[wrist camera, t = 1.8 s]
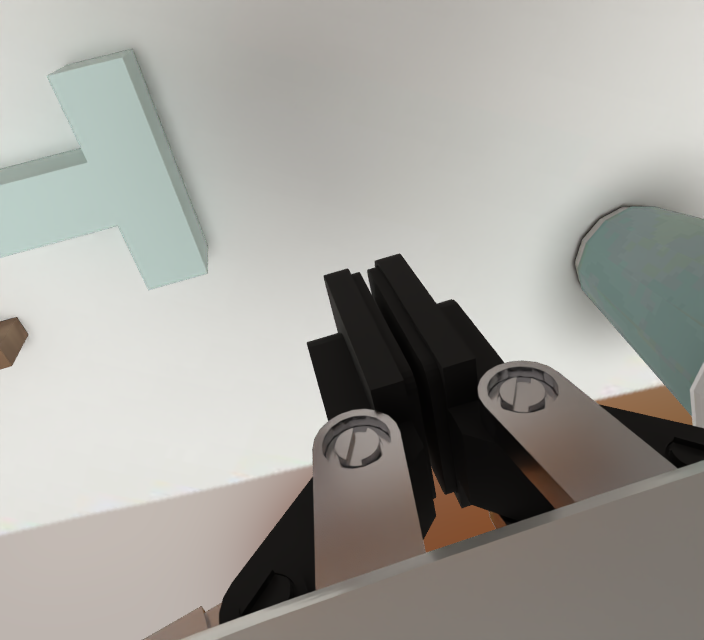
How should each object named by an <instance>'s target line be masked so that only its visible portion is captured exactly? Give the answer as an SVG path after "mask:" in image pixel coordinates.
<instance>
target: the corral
mask: <svg viewBox="0 0 704 640" xmlns="http://www.w3.org/2000/svg"><path fill="white" fill-rule="evenodd" d="M27 336H28V334H27V332H26V331H25V329H24V328H23V326H22V325H21V323H20V321H19V320H18V318H17V317H16V318H12V319H9V320H5V321H1V322H0V369H3V368H7V367H10V366H12V365H13V363H14V361H15V359H16V357H17V355H18V354H19V352H20V350H21V348H22V346H23V344H24V342H25V340H26V338H27Z"/></svg>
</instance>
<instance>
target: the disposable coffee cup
mask: <svg viewBox="0 0 704 640" xmlns="http://www.w3.org/2000/svg"><path fill="white" fill-rule="evenodd" d="M575 265H576V270H577V274H578V279H579V282H580V283H581V288H582V290H583V291H584V292H585V294H586V295H587V296H588V297H589V298H590V299H591V300H592V302H593V303H594V304H595V305H596V306H597V307H598V309H599V310H600V311H601V312H602V313H603V314H604V315H605V317H606V318H607V319H608V320H609V321H610V322H611V324H612V325H613V326H614V327H615V328H616V329H617V330H618V332H619V333H620V334H621V335H622V336H623V337H624V339H625V340H626V341H627V342H628V343H629V344H630V345H631V347H632V348H633V349H634V350H635V351H636V352H637V354H638V355H639V356H640V357H641V358H642V359H643V360H644V362H645V363H646V364H647V365H648V366H649V367H650V369H651V370H652V371H653V372H654V373H655V374H656V375H657V377H658V378H659V379H660V380H661V381H662V382H663V384H664V385H665V386H666V387H667V388H668V389H669V390H670V392H671V393H672V394H673V395H674V396H675V397H676V399H677V400H678V401H679V402H680V403H681V404H682V405H683V407H684V408H685V409H686V410H687V411H688V412H689V414H690V415H691V416H692V421H693V426H697V427H701V428H704V219H701V218H697V217H693V216H689V215H685V214H681V213H677V212H673V211H669V210H665V209H661V208H657V207H633V206H631V207H622V208H620V209H618V210H616V211H614V212H612V213H610V214H608V215H607V216H605V217H603V218H601V219H599V221H598V222H597V223H596V224H595V225H594V226H593V228H592V229H591V230H590V231H589V232H588V233H587V235H586V236H585V237H584V238H583V239H582V242H581V245H580V248H579V251H578V254H577V257H576V260H575Z"/></svg>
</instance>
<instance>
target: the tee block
mask: <svg viewBox="0 0 704 640" xmlns="http://www.w3.org/2000/svg"><path fill="white" fill-rule="evenodd" d="M47 78H48V80H49V82H50V84H51V86H52V88H53V90H54V92H55V95H56V97H57V99H58V101H59V103H60V105H61V107H62V109H63V111H64V114H65V116H66V118H67V120H68V122H69V124H70V126H71V128H72V130H73V133H74V135H75V137H76V139H77V141H78V143H79V145H80V147H81V148H80V149H76V150H72V151H68V152H64V153H60V154H56V155H52V156H49V157H45V158H41V159H37V160H33V161H29V162H25V163H21V164H18V165H14V166H10V167H6V168H2V169H0V258H2V257H5V256H9V255H13V254H16V253H20V252H24V251H28V250H31V249H35V248H39V247H42V246H46V245H50V244H53V243H57V242H61V241H64V240H68V239H72V238H75V237H79V236H83V235H87V234H90V233H94V232H98V231H101V230H105V229H109V228H112V227H116V226H118V227H119V229H120V232H121V234H122V236H123V238H124V240H125V242H126V244H127V246H128V248H129V251H130V253H131V255H132V257H133V259H134V261H135V263H136V265H137V267H138V269H139V272H140V274H141V276H142V278H143V280H144V282H145V284H146V286H147V288H148V290H151V289H155V288H158V287H162V286H165V285H169V284H172V283H176V282H180V281H183V280H187V279H190V278H194V277H197V276H201V275H204V274H208V245H207V243H206V240H205V237H204V235H203V232H202V229H201V227H200V224H199V222H198V219H197V216H196V214H195V211H194V209H193V206H192V203H191V201H190V198H189V196H188V193H187V190H186V188H185V185H184V183H183V180H182V177H181V175H180V172H179V169H178V167H177V164H176V162H175V159H174V156H173V154H172V151H171V149H170V146H169V143H168V141H167V138H166V136H165V133H164V130H163V128H162V125H161V122H160V120H159V117H158V115H157V112H156V109H155V107H154V104H153V102H152V99H151V96H150V94H149V91H148V89H147V86H146V83H145V81H144V78H143V75H142V73H141V70H140V68H139V65H138V62H137V60H136V57H135V55H134V52H133V49H130V50H126V51H122V52H118V53H114V54H110V55H105V56H101V57H97V58H93V59H89V60H85V61H81V62H77V63H73V64H69V65H65V66H64V67H62V68H60V69H58V70H56V71H55V72H53V73H51V74H49V75H48V76H47Z"/></svg>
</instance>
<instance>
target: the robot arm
mask: <svg viewBox="0 0 704 640" xmlns="http://www.w3.org/2000/svg"><path fill="white" fill-rule="evenodd" d="M367 272H368V278H369V283H370V288H371V293H372V294H371V293H370V291H369V289H368V287H367V285H366V283H365V281H364V279H363V278H362V276H361V274H360V272H358V273H354V274H351V273H350V271H349V269H344V270H341V271H337V272H334V273H330V274H327V275H324V281H325V285H326V289H327V292H328V296H329V300H330V304H331V308H332V312H333V315H334V319H335V323H336V327H337V331H338V333H337V334H333V335H330V336H327V337H323V338H320V339H316V340H313V341H310V342H307V346H308V350H309V353H310V357H311V360H312V364H313V368H314V371H315V375H316V379H317V382H318V386H319V389H320V393H321V397H322V400H323V404H324V407H325V411H326V415H327V418H328V422H327V423H326V424H325V425H324V426H323V427H322V428H321V429H320V430H319V432H318V434H317V435H316V437H315V439H314V444H313V449H312V451H313V477H312V478H311V480H310V481H309V482H308V484H307V485H306V486H305V488H304V489H303V490H302V491H301V493H300V494H299V495H298V497H297V498H296V499H295V501H294V502H293V503H292V505H291V506H290V507H289V509H288V510H287V511H286V512H285V514H284V515H283V517H282V518H281V519H280V521H279V522H278V523H277V524H276V526H275V527H274V528H273V530H272V531H271V532H270V533H269V535H268V536H267V538H266V539H265V540H264V541H263V543H262V544H261V545H260V547H259V548H258V549H257V551H256V552H255V553H254V555H253V556H252V557H251V558H250V560H249V561H248V562H247V564H246V565H245V566H244V568H243V569H242V570H241V572H240V573H239V574H238V576H237V577H236V578H235V580H234V581H233V582H232V584H231V585H230V587H229V589H228V590H227V592H226V594H225V596H224V598H223V601H222V603H220V604H218V605H217V606H215V607H213V608H211V609H210V610H208V611H207V612H205V610H204V609H203V607H202V606H200V607H199V608H197V609H195V610H194V611H192V612H190V613H188V614H187V615H185V616H183V617H181V618H180V619H178V620H176V621H174V622H173V623H171V624H169V625H168V626H166V627H164V628H162V629H160V630H159V631H157V632H155V633H153V634H152V635H150V636H148V637H147V638H145V639H143V640H704V428H701V427H697V426H692V425H687V424H683V423H679V422H674V421H670V420H665V419H661V418H657V417H652V416H648V415H643V414H639V413H635V412H630V411H626V410H621V409H617V408H612V407H608V406H603V405H599V404H597V403H596V402H595V401H594V400H592V399H591V398H590V397H589V396H587V395H586V394H585V393H584V392H583V391H581V390H580V389H579V388H578V387H576V386H575V385H574V384H573V383H571V382H570V381H569V380H568V379H566V378H565V377H564V376H563V375H562V374H560V373H559V372H558V371H556V370H554V369H553V368H551V367H549V366H547V365H544V364H540V363H537V362H531V361H512V362H507V363H504V362H503V360H502V359H501V358H500V357H499V355H498V354H497V353H496V351H495V350H494V349H493V348H492V346H491V345H490V344H489V343H488V341H487V340H486V339H485V338H484V336H483V335H482V334H481V332H480V331H479V330H478V329H477V327H476V326H475V325H474V324H473V322H472V321H471V320H470V319H469V317H468V316H467V315H466V313H465V312H464V311H463V310H462V308H461V307H460V306H459V305H458V303H457V302H456V301H455V300H452V299H451V300H448V301H444V302H441V303H438V304H436V302H435V301H434V300H433V298H432V297H431V296H430V294H429V293H428V291H427V290H426V289H425V287H424V286H423V284H422V283H421V282H420V280H419V279H418V278H417V276H416V275H415V273H414V272H413V271H412V269H411V268H410V266H409V265H408V264H407V262H406V261H405V260H404V258H403V257H402V255H401V254H396V255H393V256H389V257H386V258H382V259H379V260H376V261H375V268H372V269H368V270H367ZM431 467H432V469H433V471H434V473H435V476H436V478H437V480H438V482H439V484H440V486H441V488H442V490H443V492H444V494H449V493H452V492H454V493H455V495H456V497H457V500H458V502H459V504H460V506H461V508H464V507H467V506H470V505H474V506H477V507H480V508H483V509H486V510H488V511H489V514H490V518H491V520H492V522H493V524H494V526H495V528H496V529H495V530H492V531H490V532H486V533H484V534H481V535H478V536H475V537H472V538H469V539H466V540H463V541H460V542H457V543H454V544H451V545H448V546H445V547H442V548H439V549H436V550H433V551H430V552H427V553H426V552H425V547H424V543H423V539H424V537H425V536H426V534H427V532H428V530H429V528H430V526H431V524H432V522H433V521H434V519H435V517H436V513H435V508H434V501H433V499H434V498H436V492H435V486H434V481H433V475H432V469H431Z"/></svg>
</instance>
